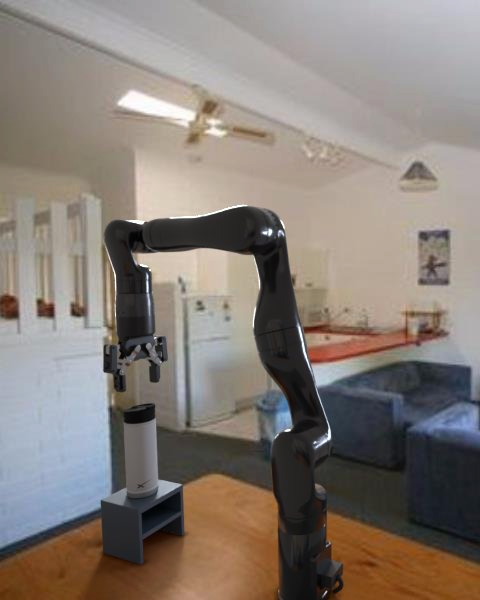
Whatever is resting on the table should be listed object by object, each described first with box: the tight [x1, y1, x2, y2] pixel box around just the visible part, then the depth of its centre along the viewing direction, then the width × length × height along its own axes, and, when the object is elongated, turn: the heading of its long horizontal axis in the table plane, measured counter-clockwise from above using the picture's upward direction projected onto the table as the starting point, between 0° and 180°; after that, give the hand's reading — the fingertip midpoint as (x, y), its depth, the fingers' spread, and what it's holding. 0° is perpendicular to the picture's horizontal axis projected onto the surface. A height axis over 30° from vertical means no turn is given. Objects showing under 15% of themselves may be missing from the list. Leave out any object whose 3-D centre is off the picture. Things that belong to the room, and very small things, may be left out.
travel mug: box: [122, 402, 159, 499], centre depth 106 cm, size 6×7×20 cm
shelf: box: [99, 478, 186, 565], centre depth 107 cm, size 11×12×12 cm
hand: (138, 386), depth 105 cm, fingers open, 8 cm apart
